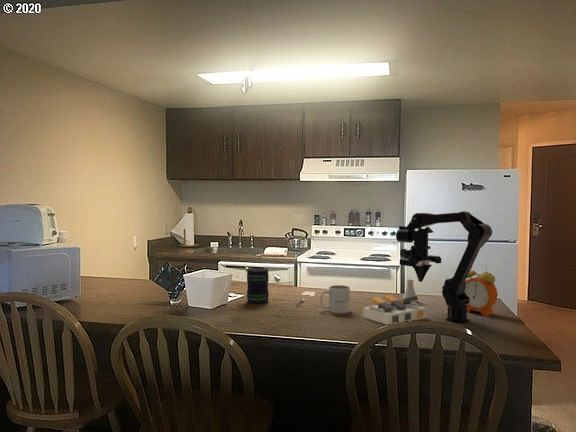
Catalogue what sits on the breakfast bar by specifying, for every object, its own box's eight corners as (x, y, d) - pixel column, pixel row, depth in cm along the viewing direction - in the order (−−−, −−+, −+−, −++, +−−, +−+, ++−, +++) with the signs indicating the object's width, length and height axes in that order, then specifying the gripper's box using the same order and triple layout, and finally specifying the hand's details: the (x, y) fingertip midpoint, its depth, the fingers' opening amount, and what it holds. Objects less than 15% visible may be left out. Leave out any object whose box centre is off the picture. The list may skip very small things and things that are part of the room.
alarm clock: (459, 310, 198) (460, 263, 198) (467, 308, 202) (467, 262, 202) (490, 316, 188) (490, 266, 188) (497, 314, 192) (498, 265, 191)
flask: (418, 303, 212) (418, 281, 212) (402, 303, 214) (402, 281, 213) (417, 300, 219) (417, 278, 219) (401, 299, 221) (401, 278, 220)
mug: (349, 308, 202) (349, 285, 202) (349, 313, 194) (349, 289, 193) (320, 307, 204) (321, 284, 203) (319, 312, 195) (319, 288, 195)
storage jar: (243, 304, 211) (243, 270, 210) (250, 299, 220) (250, 267, 220) (265, 305, 208) (265, 271, 208) (271, 300, 218) (271, 268, 217)
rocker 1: (392, 312, 181) (394, 307, 180) (386, 313, 179) (387, 308, 178) (377, 302, 188) (378, 296, 187) (370, 303, 186) (371, 297, 186)
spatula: (315, 295, 234) (315, 292, 234) (303, 308, 205) (303, 304, 205) (303, 294, 235) (303, 291, 235) (290, 307, 207) (290, 304, 207)
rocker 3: (418, 302, 187) (417, 296, 187) (412, 303, 185) (410, 297, 185) (402, 305, 194) (401, 299, 195) (396, 306, 192) (395, 300, 193)
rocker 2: (404, 311, 184) (406, 305, 184) (398, 312, 182) (399, 306, 182) (389, 299, 191) (390, 294, 191) (382, 300, 190) (384, 295, 189)
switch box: (426, 318, 186) (426, 305, 186) (388, 325, 175) (389, 312, 175) (399, 311, 198) (399, 299, 198) (363, 317, 187) (363, 304, 187)
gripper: (421, 241, 205) (421, 276, 206) (390, 243, 195) (389, 280, 196) (442, 243, 196) (441, 280, 196) (410, 245, 186) (409, 284, 186)
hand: (420, 281), depth 194 cm, fingers closed
